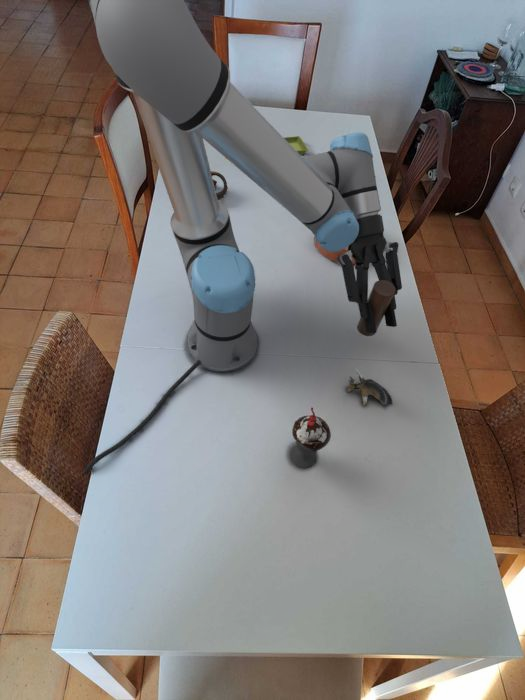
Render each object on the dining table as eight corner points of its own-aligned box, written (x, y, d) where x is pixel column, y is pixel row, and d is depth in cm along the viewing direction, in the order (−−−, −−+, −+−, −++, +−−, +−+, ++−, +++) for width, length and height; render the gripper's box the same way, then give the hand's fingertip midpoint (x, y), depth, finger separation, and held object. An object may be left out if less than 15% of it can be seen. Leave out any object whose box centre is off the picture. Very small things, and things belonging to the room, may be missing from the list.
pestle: (375, 338, 100) (394, 298, 89) (355, 333, 100) (372, 292, 90) (377, 324, 102) (396, 283, 92) (358, 318, 103) (375, 277, 92)
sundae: (298, 432, 89) (311, 393, 77) (326, 454, 87) (344, 417, 75) (278, 456, 86) (288, 419, 74) (306, 479, 84) (321, 445, 72)
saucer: (274, 143, 152) (275, 137, 150) (298, 141, 154) (299, 135, 152) (282, 158, 147) (283, 152, 146) (307, 155, 149) (308, 149, 148)
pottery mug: (225, 185, 136) (231, 172, 129) (220, 214, 135) (227, 202, 127) (185, 174, 133) (190, 159, 125) (180, 204, 131) (184, 190, 124)
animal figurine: (345, 409, 92) (391, 416, 90) (348, 376, 90) (395, 382, 88) (347, 394, 99) (390, 400, 97) (351, 363, 97) (394, 369, 95)
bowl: (368, 272, 118) (374, 256, 114) (307, 257, 120) (311, 240, 116) (376, 234, 128) (382, 218, 124) (320, 220, 130) (324, 204, 125)
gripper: (386, 212, 97) (403, 317, 102) (315, 228, 92) (337, 338, 97) (409, 206, 90) (426, 319, 95) (334, 222, 85) (356, 342, 90)
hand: (381, 328), depth 96 cm, fingers closed on pestle, 4 cm apart
